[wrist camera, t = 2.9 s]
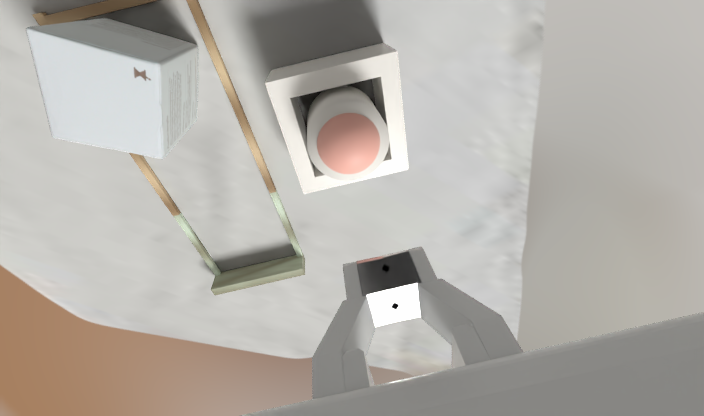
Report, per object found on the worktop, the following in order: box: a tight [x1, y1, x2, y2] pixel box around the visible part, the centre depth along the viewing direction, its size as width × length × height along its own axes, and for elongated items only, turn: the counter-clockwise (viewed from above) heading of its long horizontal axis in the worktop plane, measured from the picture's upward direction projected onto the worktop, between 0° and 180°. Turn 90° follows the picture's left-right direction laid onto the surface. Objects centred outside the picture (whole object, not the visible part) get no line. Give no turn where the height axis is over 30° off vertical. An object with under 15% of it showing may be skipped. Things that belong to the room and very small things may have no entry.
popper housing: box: [265, 43, 409, 194], centre depth 24 cm, size 9×9×4 cm
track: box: [33, 0, 305, 295], centre depth 27 cm, size 27×10×2 cm, turn 11°
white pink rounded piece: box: [307, 85, 389, 181], centre depth 21 cm, size 6×6×6 cm
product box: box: [26, 18, 198, 159], centre depth 20 cm, size 6×6×7 cm
